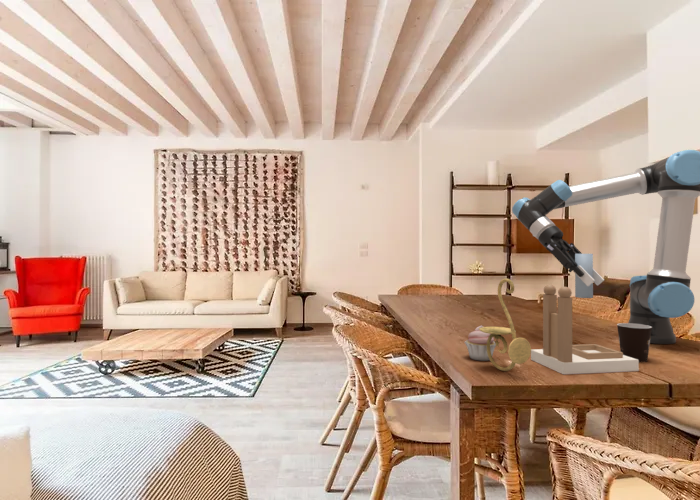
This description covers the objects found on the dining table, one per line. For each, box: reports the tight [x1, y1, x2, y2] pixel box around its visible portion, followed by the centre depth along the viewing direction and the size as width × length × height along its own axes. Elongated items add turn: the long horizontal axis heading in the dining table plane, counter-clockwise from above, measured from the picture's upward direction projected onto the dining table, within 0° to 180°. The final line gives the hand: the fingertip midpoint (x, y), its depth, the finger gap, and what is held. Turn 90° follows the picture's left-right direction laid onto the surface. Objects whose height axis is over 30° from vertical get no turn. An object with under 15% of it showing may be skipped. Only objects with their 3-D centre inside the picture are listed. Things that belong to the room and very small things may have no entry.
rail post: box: [574, 253, 594, 299], centre depth 135 cm, size 5×5×14 cm
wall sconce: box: [479, 278, 532, 372], centre depth 113 cm, size 14×10×25 cm
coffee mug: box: [616, 322, 652, 363], centre depth 126 cm, size 12×9×10 cm
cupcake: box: [464, 325, 497, 362], centre depth 126 cm, size 9×9×10 cm
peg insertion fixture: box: [530, 284, 640, 375], centre depth 119 cm, size 22×15×23 cm
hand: (596, 282), depth 132 cm, fingers closed on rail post, 5 cm apart
